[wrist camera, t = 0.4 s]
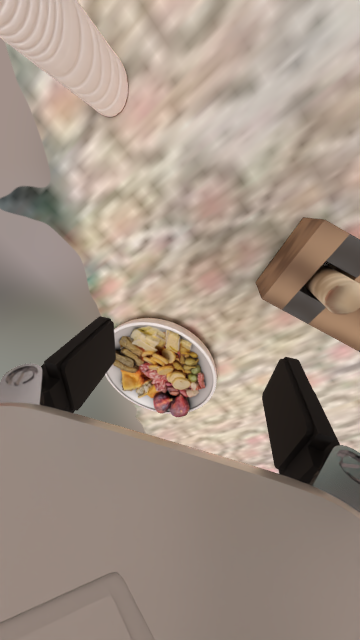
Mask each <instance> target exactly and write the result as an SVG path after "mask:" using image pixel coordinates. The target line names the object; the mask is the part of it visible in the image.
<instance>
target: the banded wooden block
mask: <svg viewBox="0 0 360 640" xmlns="http://www.w3.org/2000/svg"><path fill="white" fill-rule="evenodd" d="M325 261H326V262H328V263H330V264H329V265H328V266H329V267H331V268H333V269H334V270H336V271H338V272H340V273H342V274H343V275H345V276H347V277H349V278H350V279H352V280H354V281H356V282H358V283H359V284H360V240H359V239H358V238H356V237H354V236H352V235H351V234H349V233H347V232H345V231H344V230H342V229H340V228H338V227H337V226H335V225H333V224H331V223H330V222H328V221H326V220H322V219H312V218H303V219H302V220H301V221H300V223H299V224H298V225H297V227H296V228H295V229H294V231H293V232H292V234H291V235H290V236H289V238H288V239H287V240H286V242H285V243H284V244H283V246H282V247H281V249H280V250H279V251H278V253H277V254H276V255H275V257H274V258H273V259H272V261H271V262H270V263H269V265H268V266H267V268H266V269H265V270H264V272H263V273H262V274H261V276H260V277H259V278H258V280H257V281H256V285H257V287H258V290H259V293H260V295H261V298H262V299H263V300H265V301H267V302H269V303H271V304H272V305H274V306H276V307H278V308H280V309H282V310H283V311H285V312H287V313H289V314H291V315H293V316H295V317H296V318H298V319H300V320H302V321H304V322H306V323H308V324H309V325H311V326H313V327H315V328H317V329H319V330H320V331H322V332H324V333H326V334H328V335H330V336H332V337H333V338H335V339H337V340H339V341H341V342H343V343H344V344H346V345H348V346H350V347H352V348H354V349H356V350H357V351H359V352H360V308H359V309H357V310H356V311H354V312H351V313H348V314H335V313H332V312H330V311H329V310H328V309H327V308H326V307H325V306H324V305H323V304H322V303H321V302H320V301H319V300H318V299H317V298H316V297H315V296H314V295H313V294H312V293H311V292H310V291H309V290H308V289H307V288H306V286H305V284H306V282H307V281H308V280H309V279H310V278H311V277H312V276H313V275H314V274H315V272H316V271H317V270H318V269H319V268H320V267H321V266H322V265H323V264H324V262H325Z"/></svg>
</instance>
